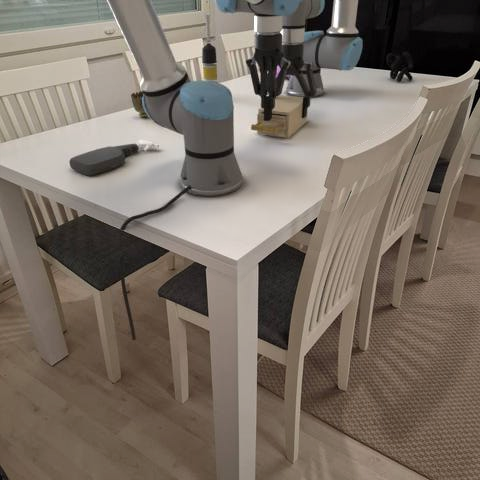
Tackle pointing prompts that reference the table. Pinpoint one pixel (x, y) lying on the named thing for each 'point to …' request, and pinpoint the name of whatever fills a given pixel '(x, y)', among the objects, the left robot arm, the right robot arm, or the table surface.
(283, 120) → the drawer
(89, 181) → the table surface
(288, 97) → the wooden box
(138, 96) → the olive irregular piece
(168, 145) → the table surface
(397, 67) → the squiggle
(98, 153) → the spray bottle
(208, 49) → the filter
